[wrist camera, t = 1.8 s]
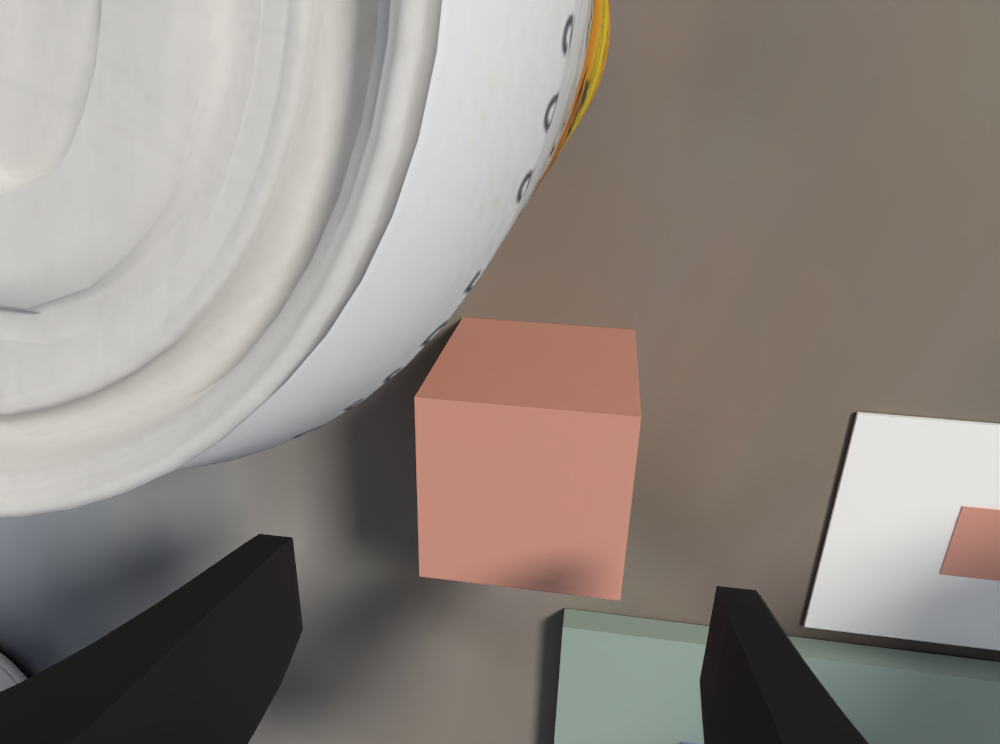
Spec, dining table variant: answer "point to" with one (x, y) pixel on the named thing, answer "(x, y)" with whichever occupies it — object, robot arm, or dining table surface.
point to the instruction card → (914, 534)
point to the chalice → (9, 673)
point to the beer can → (250, 212)
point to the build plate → (838, 666)
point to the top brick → (528, 456)
